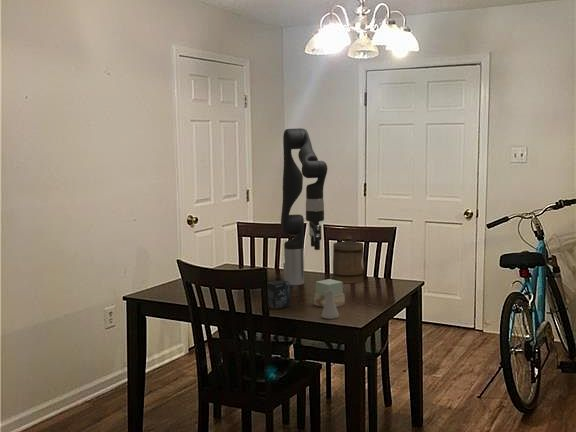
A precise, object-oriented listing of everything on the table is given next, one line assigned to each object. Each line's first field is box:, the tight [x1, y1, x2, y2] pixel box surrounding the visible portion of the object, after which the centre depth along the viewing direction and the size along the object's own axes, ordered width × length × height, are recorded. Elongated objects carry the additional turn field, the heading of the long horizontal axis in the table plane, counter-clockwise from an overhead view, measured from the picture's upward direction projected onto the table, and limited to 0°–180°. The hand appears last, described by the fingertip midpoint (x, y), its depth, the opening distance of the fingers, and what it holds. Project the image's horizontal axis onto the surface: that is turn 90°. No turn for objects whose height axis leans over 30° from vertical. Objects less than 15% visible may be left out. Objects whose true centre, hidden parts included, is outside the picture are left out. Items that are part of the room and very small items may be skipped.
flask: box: [320, 291, 340, 320], centre depth 253 cm, size 7×7×10 cm
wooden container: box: [332, 235, 365, 284], centre depth 316 cm, size 15×15×22 cm
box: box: [267, 279, 291, 310], centre depth 269 cm, size 8×6×11 cm
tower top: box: [315, 278, 344, 296], centre depth 271 cm, size 8×8×5 cm
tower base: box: [313, 292, 346, 308], centre depth 272 cm, size 9×9×5 cm
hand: (315, 248), depth 270 cm, fingers open, 8 cm apart
